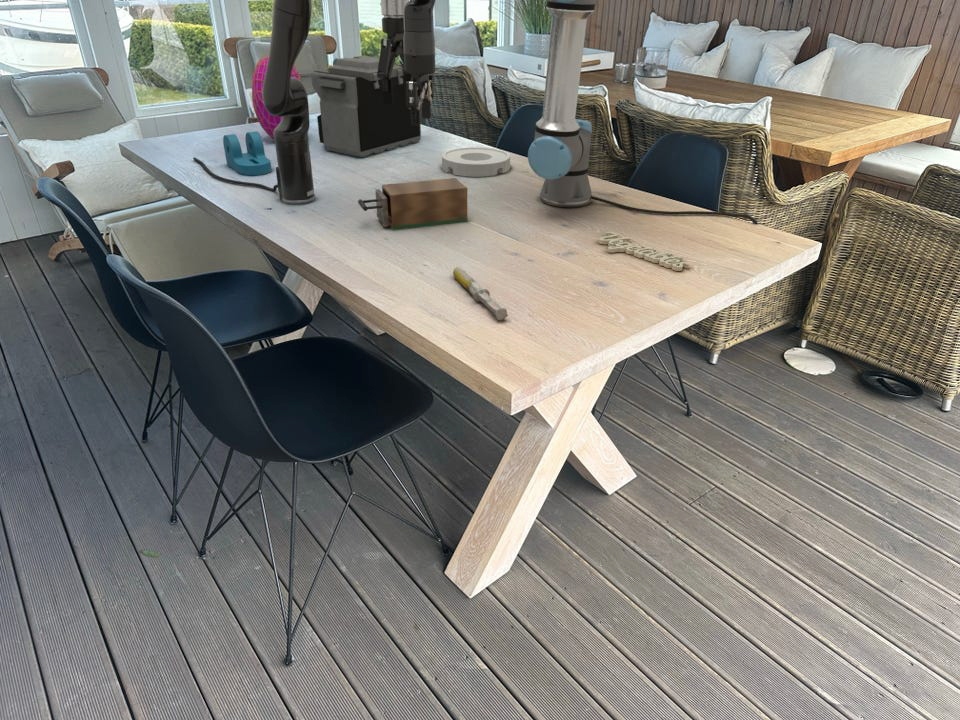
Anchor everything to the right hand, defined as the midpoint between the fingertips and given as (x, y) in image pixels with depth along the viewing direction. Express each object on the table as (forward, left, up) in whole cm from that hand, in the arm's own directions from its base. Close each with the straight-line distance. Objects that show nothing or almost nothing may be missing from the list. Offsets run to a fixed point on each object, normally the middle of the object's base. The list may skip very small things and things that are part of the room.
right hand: (399, 99), depth 196 cm
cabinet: (-18, +20, -27) cm, 38 cm away
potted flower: (+77, -78, -27) cm, 113 cm away
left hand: (-19, +21, 0) cm, 28 cm away
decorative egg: (+75, -37, -27) cm, 88 cm away
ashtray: (-8, -35, -27) cm, 44 cm away
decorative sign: (-77, +18, -27) cm, 83 cm away
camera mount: (+58, +1, -27) cm, 64 cm away
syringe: (-52, +58, -27) cm, 82 cm away
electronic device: (+40, -44, -27) cm, 65 cm away
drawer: (-15, +23, -26) cm, 38 cm away
